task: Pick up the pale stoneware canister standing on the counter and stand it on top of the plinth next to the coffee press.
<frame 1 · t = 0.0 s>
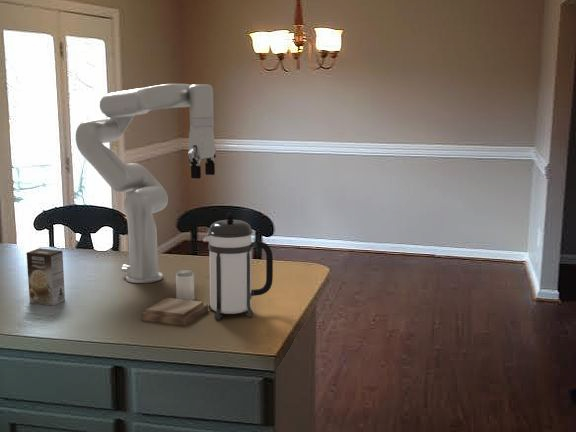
hand: (203, 176, 226), 37 cm above the countertop, tool pointing down, fingers open, 9 cm apart
plinth: (175, 315, 202), on the countertop
coffee press: (234, 313, 204), on the countertop
coffee box: (47, 302, 215), on the countertop
canister: (185, 299, 217), on the countertop
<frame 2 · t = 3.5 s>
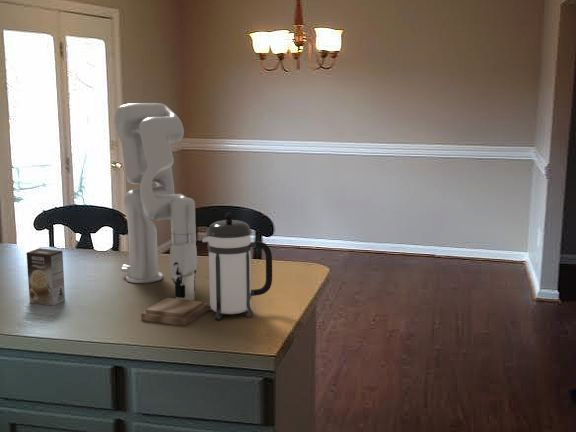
hand: (185, 293, 217), 2 cm above the countertop, tool pointing down, fingers closed on canister, 5 cm apart
canister: (185, 299, 217), on the countertop, touching gripper
everything else where it was.
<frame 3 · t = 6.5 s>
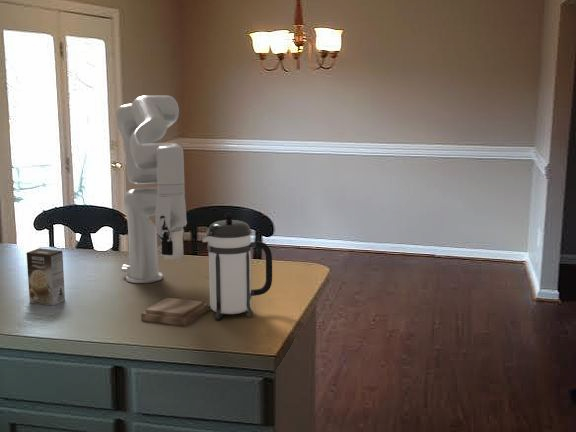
hand: (173, 251, 198), 19 cm above the countertop, tool pointing down, fingers closed on canister, 5 cm apart
canister: (173, 257, 199), point 17 cm above the countertop, touching gripper
everything else where it was.
when the fingers open (6 cm above the countertop, at t = 9.3 s): canister stays where it is, resting on plinth.
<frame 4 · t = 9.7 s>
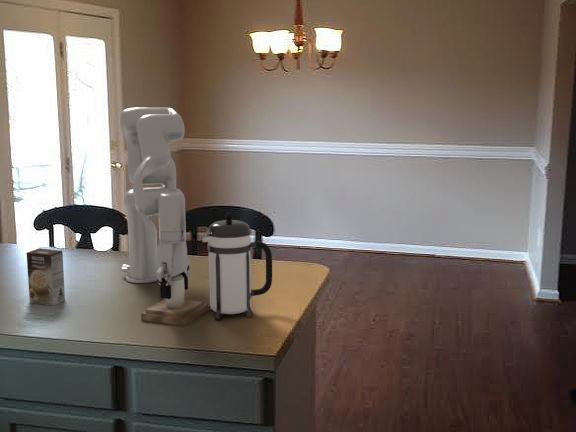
hand: (174, 293, 201), 7 cm above the countertop, tool pointing down, fingers open, 9 cm apart
canister: (175, 305, 202), point 3 cm above the countertop, touching plinth
everything else where it was.
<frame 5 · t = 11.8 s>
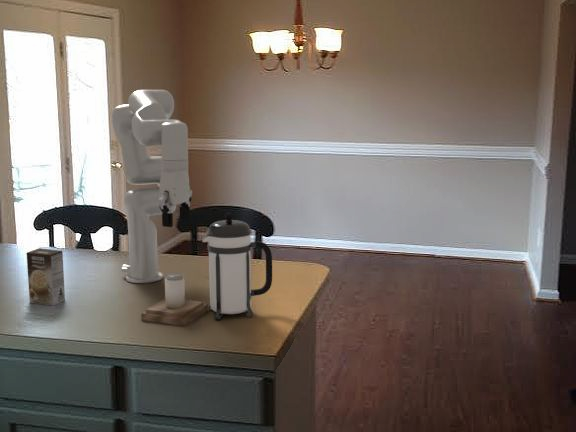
hand: (176, 223, 204), 26 cm above the countertop, tool pointing down, fingers open, 9 cm apart
nothing on the countertop moved.
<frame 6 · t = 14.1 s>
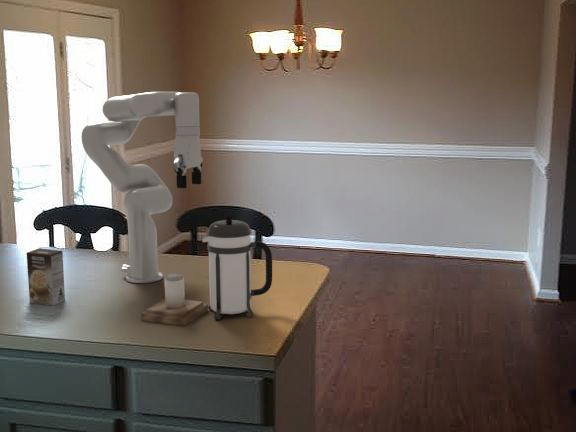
hand: (189, 186, 221), 34 cm above the countertop, tool pointing down, fingers open, 9 cm apart
nothing on the countertop moved.
at the end: canister inside the target area on the plinth (0.2 cm from its centre), point 3.1 cm above the plinth's base; canister tilted 1°; the gripper is holding nothing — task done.
